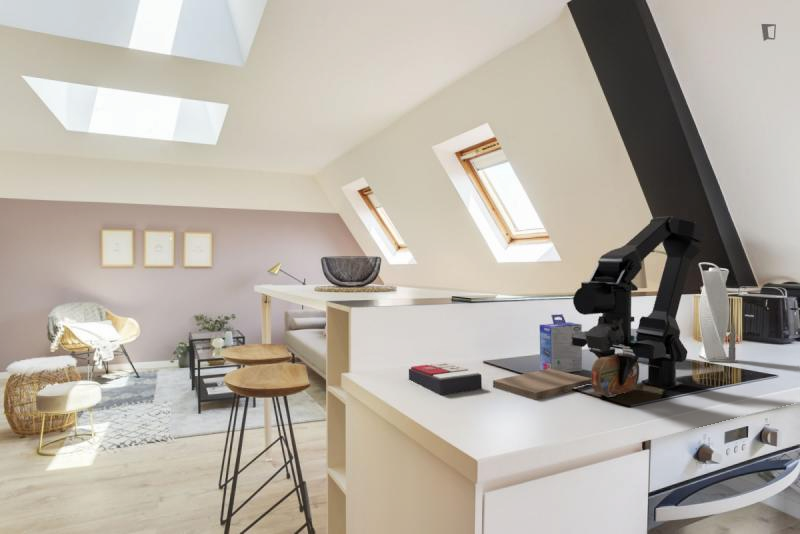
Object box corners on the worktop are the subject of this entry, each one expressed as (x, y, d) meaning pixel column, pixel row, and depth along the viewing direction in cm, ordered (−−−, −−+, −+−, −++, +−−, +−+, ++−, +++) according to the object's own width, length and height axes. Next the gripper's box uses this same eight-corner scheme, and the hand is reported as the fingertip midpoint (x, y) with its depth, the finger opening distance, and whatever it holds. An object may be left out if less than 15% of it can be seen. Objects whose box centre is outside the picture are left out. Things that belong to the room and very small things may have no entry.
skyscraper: (704, 361, 138) (706, 262, 137) (692, 355, 146) (693, 262, 145) (737, 362, 137) (739, 262, 136) (723, 356, 145) (725, 262, 144)
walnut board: (548, 374, 123) (549, 368, 123) (591, 385, 113) (591, 378, 113) (493, 386, 111) (493, 380, 111) (535, 399, 102) (535, 392, 102)
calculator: (446, 361, 123) (482, 371, 110) (446, 378, 123) (482, 390, 110) (407, 365, 118) (440, 376, 105) (408, 383, 118) (440, 396, 105)
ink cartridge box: (568, 366, 132) (569, 313, 131) (583, 371, 127) (583, 315, 126) (538, 369, 128) (538, 314, 128) (551, 374, 123) (552, 317, 123)
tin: (601, 400, 101) (602, 360, 101) (587, 397, 104) (588, 357, 103) (640, 389, 110) (641, 351, 109) (626, 385, 112) (627, 349, 112)
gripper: (557, 310, 109) (556, 379, 109) (638, 319, 94) (637, 400, 94) (586, 307, 115) (585, 372, 116) (667, 315, 100) (666, 391, 101)
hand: (615, 383), depth 106 cm, fingers closed on tin, 2 cm apart
